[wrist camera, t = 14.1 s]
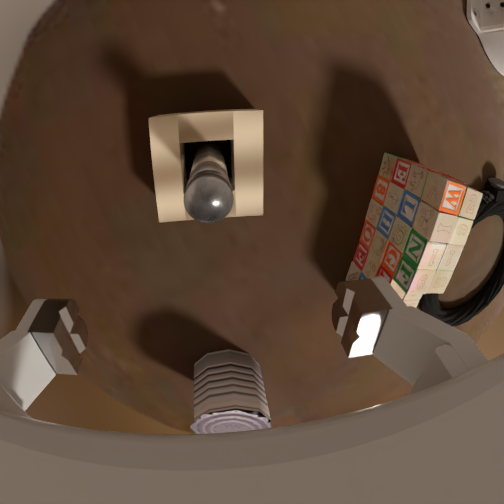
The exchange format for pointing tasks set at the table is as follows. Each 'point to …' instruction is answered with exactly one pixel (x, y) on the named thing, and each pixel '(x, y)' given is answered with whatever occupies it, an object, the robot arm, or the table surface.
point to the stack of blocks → (414, 228)
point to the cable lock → (492, 203)
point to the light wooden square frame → (207, 129)
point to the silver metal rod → (208, 186)
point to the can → (229, 394)
